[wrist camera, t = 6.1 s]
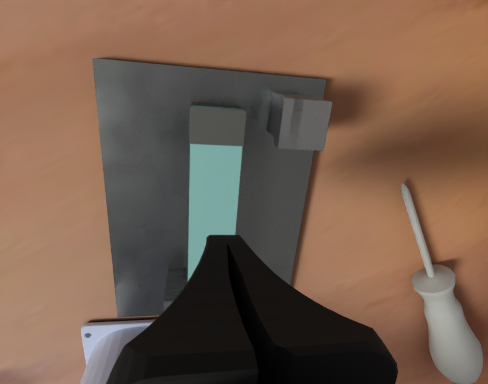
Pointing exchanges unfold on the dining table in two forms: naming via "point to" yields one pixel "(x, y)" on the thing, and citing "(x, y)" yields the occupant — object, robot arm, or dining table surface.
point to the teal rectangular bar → (213, 175)
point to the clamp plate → (178, 168)
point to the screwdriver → (444, 314)
